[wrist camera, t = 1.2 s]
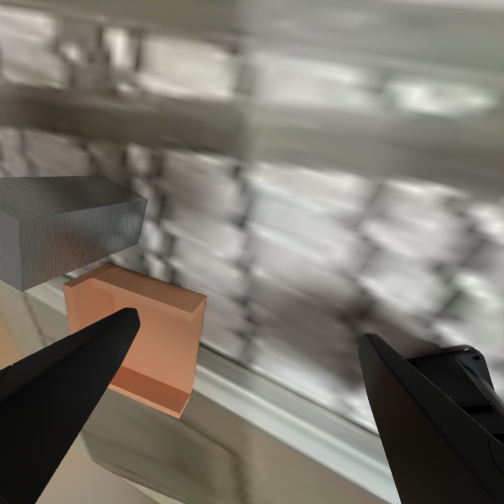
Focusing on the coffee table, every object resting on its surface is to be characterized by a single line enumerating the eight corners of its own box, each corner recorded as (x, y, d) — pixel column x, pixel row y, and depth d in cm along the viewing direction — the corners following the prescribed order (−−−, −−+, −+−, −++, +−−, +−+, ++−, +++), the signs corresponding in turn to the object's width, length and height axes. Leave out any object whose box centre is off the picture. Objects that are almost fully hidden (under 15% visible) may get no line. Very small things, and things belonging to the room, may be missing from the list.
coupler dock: (206, 296, 23) (180, 327, 18) (191, 395, 29) (168, 437, 24) (108, 263, 24) (62, 284, 20) (113, 363, 31) (79, 396, 26)
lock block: (147, 199, 20) (18, 220, 11) (138, 243, 23) (21, 291, 13) (103, 176, 21) (-58, 178, 12) (97, 221, 23) (-43, 254, 14)
